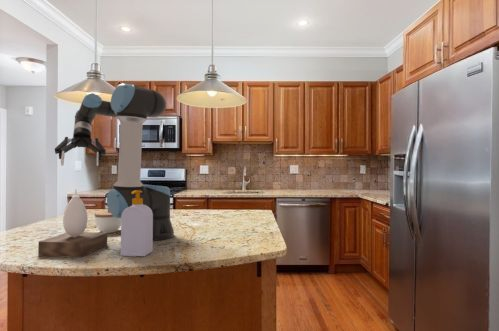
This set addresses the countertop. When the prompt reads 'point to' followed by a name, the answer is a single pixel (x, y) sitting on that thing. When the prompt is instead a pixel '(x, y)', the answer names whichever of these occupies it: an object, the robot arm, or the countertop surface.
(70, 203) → the grey teardrop shape
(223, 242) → the countertop surface
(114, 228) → the lidded bowl
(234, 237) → the countertop surface
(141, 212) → the soap bottle
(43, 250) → the walnut stand
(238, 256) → the countertop surface
